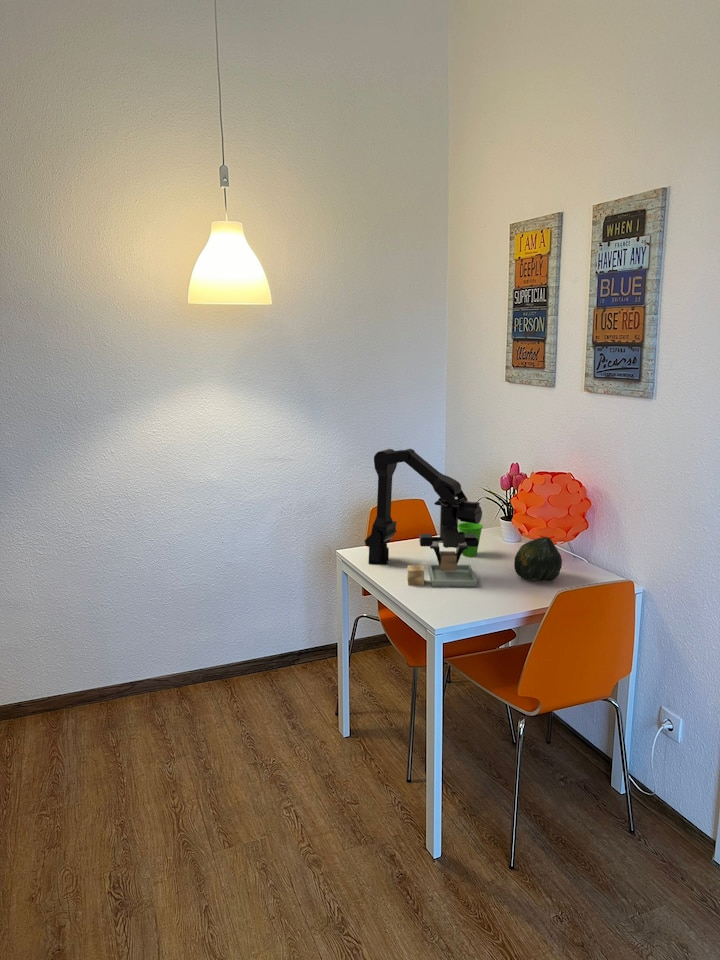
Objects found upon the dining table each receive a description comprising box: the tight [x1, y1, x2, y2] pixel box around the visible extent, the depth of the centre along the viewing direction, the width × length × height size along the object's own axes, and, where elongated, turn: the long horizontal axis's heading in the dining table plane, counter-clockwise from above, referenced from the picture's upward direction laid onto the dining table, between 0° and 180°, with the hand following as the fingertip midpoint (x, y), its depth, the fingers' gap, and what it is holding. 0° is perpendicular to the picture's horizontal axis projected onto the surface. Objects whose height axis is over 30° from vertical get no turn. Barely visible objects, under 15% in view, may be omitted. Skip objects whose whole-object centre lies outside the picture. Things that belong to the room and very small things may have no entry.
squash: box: [513, 536, 563, 582], centre depth 225 cm, size 14×15×15 cm
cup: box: [458, 522, 484, 558], centre depth 250 cm, size 9×9×11 cm
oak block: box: [406, 564, 425, 587], centre depth 222 cm, size 5×5×5 cm
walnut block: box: [438, 550, 457, 571], centre depth 228 cm, size 5×5×5 cm
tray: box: [427, 564, 478, 588], centre depth 226 cm, size 14×16×2 cm
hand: (447, 565), depth 229 cm, fingers closed on walnut block, 5 cm apart
